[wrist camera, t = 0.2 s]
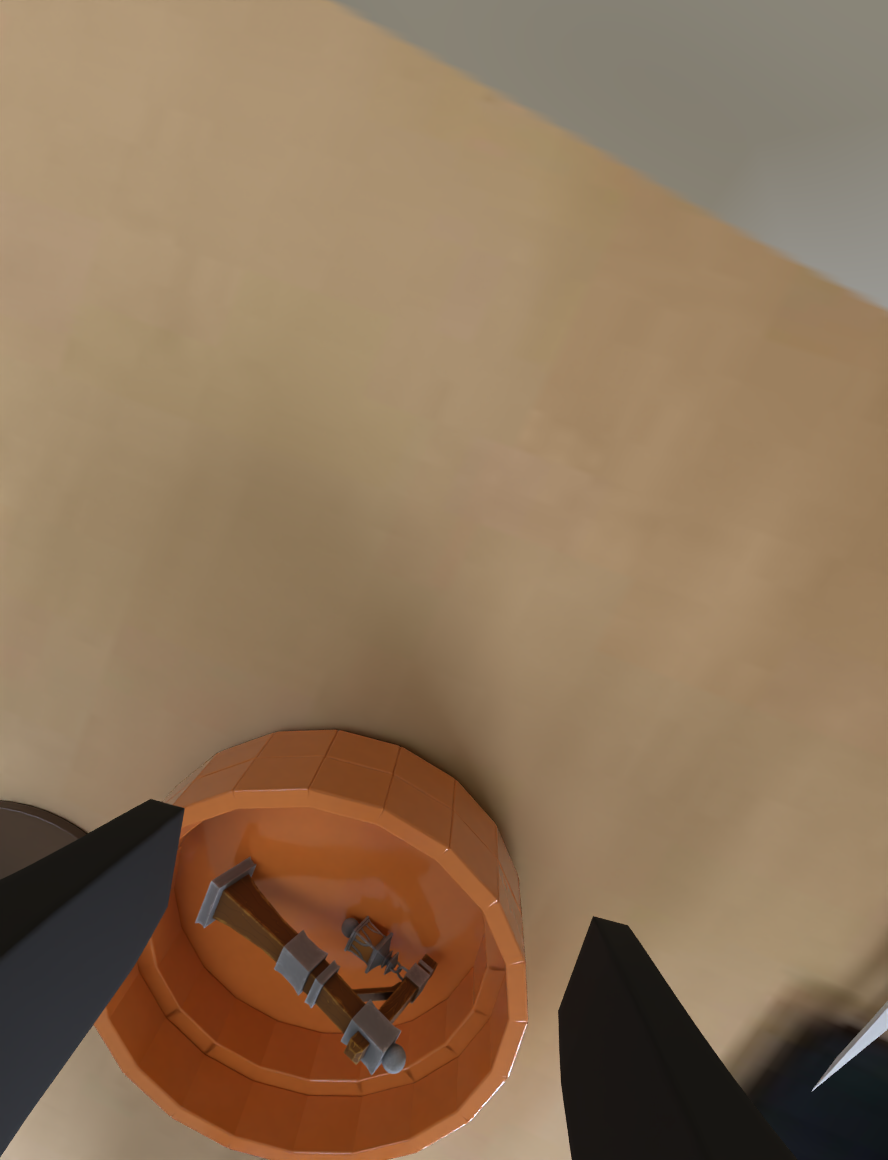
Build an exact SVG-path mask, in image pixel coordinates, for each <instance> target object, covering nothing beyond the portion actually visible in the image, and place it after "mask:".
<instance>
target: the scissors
mask: <svg viewBox="0 0 888 1160" xmlns="http://www.w3.org/2000/svg"><path fill="white" fill-rule="evenodd" d="M887 1029H888V1001H887V1002H886V1003H885V1004H884V1005H883V1006H882V1008H881V1009H880V1010H879V1011H878V1012H877V1013H876V1014H875V1016H874V1017H873V1018H872V1019H871V1020H870V1021H869V1022H868V1023H867V1025H866V1026H865V1027H864V1028H863V1029H862V1030H861V1031H860V1032H859V1033H858V1034H857V1036H856V1037H855V1038H854V1039H853V1040H852V1041H851V1042H850V1043H849V1044H848V1045H847V1046H846V1048H845V1049H844V1050H843V1051H842V1052H841V1053H840V1054H839V1055H838V1056H837V1058H836V1059H835V1060H834V1062H833V1063H832V1064H831V1066H830V1067H829V1068H828V1070H827V1071H826V1072H825V1074H824V1075H823V1076H822V1078H821V1079H820V1081H819V1082H818V1083H817V1085H816V1086H815V1087H814V1089H815V1088H816V1087H818V1086H819V1085H820V1084H821V1083H823V1082H824V1081H825V1080H826V1079H827V1078H829V1077H830V1076H831V1075H832V1074H834V1073H835V1072H836V1071H837V1070H838V1069H840V1068H841V1067H842V1066H843V1065H845V1064H846V1063H847V1062H848V1061H849V1060H851V1059H852V1058H853V1057H854V1056H856V1055H857V1054H858V1053H859V1052H860V1051H862V1050H863V1049H864V1048H865V1047H867V1046H868V1045H869V1044H870V1043H871V1042H873V1041H874V1040H875V1039H876V1038H878V1037H879V1036H880V1035H881V1034H882V1033H884V1032H885V1031H886V1030H887ZM814 1089H813V1090H814ZM813 1090H812V1091H813Z"/></svg>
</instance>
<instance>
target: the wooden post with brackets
mask: <svg viewBox="0 0 888 1160" xmlns="http://www.w3.org/2000/svg"><path fill="white" fill-rule="evenodd" d="M256 865H257V864H254V863H253V861H252V860H251V856H250V857H249V858H247V859H245V860H244V861H242V862H241V863H239V864H237V865H236V866H234V867H233V868H231V869H229V870H228V871H226V872H225V873H223V874H221V875H220V876H218V877H217V878H215V879H213V880H212V881H211V883H210V885H209V888H208V890H207V893H206V896H205V898H204V901H203V903H202V906H201V909H200V911H199V914H198V916H197V919H196V921H195V923H200V924H201V925H203V928H205V927H207V926H208V925H209V924H211V923H212V922H214V921H215V920H217V921H219V922H221V923H223V924H225V925H227V926H229V927H231V928H232V929H233V930H235V931H236V932H238V933H239V934H241V935H242V936H243V937H245V938H246V939H248V940H249V941H251V942H252V943H253V944H255V945H256V946H258V947H259V948H261V949H262V950H263V951H264V952H265V953H266V954H267V955H269V956H270V957H271V958H272V959H273V960H274V961H275V962H276V966H275V968H274V970H276V971H278V972H279V973H281V974H282V975H283V976H284V977H285V978H286V979H287V981H288V982H289V983H290V984H291V985H292V986H293V987H294V989H295V991H296V993H297V994H298V996H299V995H300V994H301V993H302V992H304V993H306V994H307V995H308V996H307V998H306V1000H305V1002H304V1003H307V1004H309V1006H310V1008H312V1007H313V1006H314V1005H315V1004H316V1005H317V1006H318V1007H319V1008H320V1009H321V1010H322V1011H323V1012H324V1013H325V1014H326V1015H327V1016H328V1017H329V1019H330V1020H331V1021H332V1022H333V1023H334V1024H335V1025H336V1026H337V1027H338V1028H339V1029H340V1030H341V1031H342V1032H343V1034H344V1035H343V1037H342V1039H341V1041H340V1042H342V1043H343V1044H345V1045H347V1046H346V1048H345V1050H344V1053H345V1054H346V1055H347V1056H348V1057H349V1058H350V1059H351V1060H352V1061H353V1062H354V1063H355V1064H356V1065H357V1064H358V1062H359V1061H360V1060H361V1061H362V1062H363V1064H364V1065H365V1066H366V1067H367V1069H368V1070H369V1072H370V1074H371V1076H372V1075H373V1073H374V1072H375V1071H376V1069H377V1068H378V1067H379V1066H380V1064H381V1063H382V1065H383V1068H384V1069H385V1070H386V1071H387V1072H388V1073H391V1074H396V1073H399V1072H400V1071H401V1070H402V1069H403V1067H404V1065H405V1062H406V1054H405V1051H404V1049H403V1048H402V1046H400V1045H399V1044H396V1043H395V1042H396V1040H397V1038H398V1036H399V1035H400V1033H401V1030H399V1029H398V1028H396V1027H395V1026H393V1025H392V1024H393V1023H394V1021H395V1020H396V1019H397V1018H398V1016H399V1015H400V1014H401V1013H402V1011H403V1010H404V1009H405V1008H406V1006H407V1005H408V1004H409V1003H411V1004H412V1003H413V1002H414V1001H415V1000H416V998H417V997H418V996H419V995H420V993H421V992H422V991H423V989H424V987H425V985H426V984H427V982H428V980H429V979H430V978H431V977H432V975H433V973H434V971H435V969H436V967H437V965H438V963H437V962H436V961H434V960H433V959H432V958H431V957H430V956H428V955H427V954H425V956H424V957H423V958H422V960H421V959H420V961H419V962H418V964H416V963H415V964H414V965H413V966H412V967H411V968H410V970H408V969H407V968H405V967H404V966H401V964H400V963H399V962H398V955H399V952H397V953H396V954H395V955H394V956H393V957H391V956H392V952H393V951H390V944H391V939H392V936H393V933H392V932H391V933H390V934H389V935H388V936H385V935H383V934H382V933H381V932H380V931H379V930H378V929H377V928H376V927H375V926H374V925H373V924H372V923H371V921H370V919H369V916H367V917H366V918H365V919H364V920H363V921H362V922H361V923H360V924H359V923H358V921H357V920H356V919H354V918H347V919H346V920H345V921H344V922H343V924H342V933H343V934H344V936H346V937H347V938H349V940H348V942H347V945H346V947H345V949H344V951H345V952H346V951H349V952H352V953H353V954H354V955H356V956H357V957H358V958H360V959H361V960H362V961H364V962H365V963H366V965H367V968H366V970H365V973H366V974H367V973H368V972H370V971H371V970H372V969H374V968H375V967H377V966H379V965H381V969H382V968H383V967H384V966H385V965H386V969H385V971H384V975H385V974H387V973H389V972H391V971H392V972H393V973H397V976H398V977H399V979H400V980H402V982H398V983H397V984H395V985H394V986H392V987H377V988H363V989H351V987H350V986H349V985H348V984H347V983H346V982H345V981H344V980H343V978H342V977H341V976H340V975H339V974H338V971H339V969H340V966H339V965H337V963H336V962H335V960H334V961H333V962H332V963H331V964H329V963H328V962H327V961H326V960H325V959H326V957H327V955H328V953H326V952H324V951H323V950H321V949H320V948H319V947H317V946H316V945H315V944H314V943H313V942H312V941H311V940H310V939H309V938H308V937H307V935H306V933H305V932H304V930H302V931H301V932H300V933H299V934H298V933H297V932H296V931H295V930H294V929H293V928H292V927H291V926H290V925H289V924H288V923H287V922H286V921H285V920H284V919H283V918H282V917H281V916H280V914H279V913H278V912H277V911H276V909H275V908H274V907H273V906H272V905H271V903H270V902H269V901H268V900H267V899H266V897H265V896H264V895H263V894H262V893H261V891H260V890H259V889H258V887H257V886H256V884H255V882H254V881H253V879H252V878H251V877H252V875H253V872H254V870H255V867H256ZM397 964H398V966H399V967H398V968H397V971H396V970H394V968H395V967H396V965H397ZM402 969H403V970H405V971H406V972H407V973H406V974H405V976H404V978H402V977H401V976H400V974H399V973H400V972H401V970H402ZM384 1000H386V1001H385V1003H384V1004H383V1005H382V1006H381V1007H380V1008H379V1010H378V1009H377V1008H376V1007H375V1005H374V1004H373V1002H372V1001H384ZM364 1002H367V1003H366V1004H365V1003H364Z"/></svg>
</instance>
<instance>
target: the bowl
mask: <svg viewBox="0 0 888 1160" xmlns="http://www.w3.org/2000/svg"><path fill="white" fill-rule="evenodd" d="M162 802H164V803H167V804H171V805H175V806H179V807H183V808H185V810H184V816H183V822H182V828H181V833H180V839H179V845H178V851H177V856H176V862H175V868H174V873H173V879H172V885H171V891H170V896H169V902H168V907H167V909H166V911H165V913H164V915H163V916H162V918H161V920H160V922H159V924H158V925H157V927H156V929H155V931H154V933H153V934H152V936H151V938H150V940H149V942H148V943H147V945H146V947H145V948H144V950H143V952H142V954H141V955H140V957H139V959H138V961H137V962H136V964H135V966H134V967H133V969H132V970H131V972H130V973H129V975H128V976H127V978H126V979H125V980H124V982H123V983H122V985H121V986H120V988H119V989H118V990H117V992H116V993H115V995H114V996H113V998H112V999H111V1000H110V1002H109V1003H108V1005H107V1006H106V1007H105V1009H104V1010H103V1012H102V1013H101V1014H100V1016H99V1017H98V1019H97V1020H96V1022H95V1023H94V1024H93V1025H94V1026H95V1028H96V1030H97V1031H98V1033H99V1035H100V1036H101V1038H102V1040H103V1041H104V1043H105V1044H106V1046H107V1048H108V1049H109V1051H110V1053H111V1054H112V1056H113V1058H114V1059H115V1061H116V1062H117V1064H118V1066H119V1067H120V1069H121V1071H122V1072H123V1073H125V1076H126V1077H128V1078H129V1079H130V1080H131V1081H132V1082H133V1083H134V1084H135V1085H136V1086H137V1087H138V1088H139V1089H141V1090H142V1091H143V1092H144V1093H145V1094H146V1095H147V1096H148V1097H149V1098H150V1099H151V1100H152V1101H154V1102H155V1103H156V1104H157V1105H158V1106H159V1107H160V1108H161V1109H162V1110H163V1111H164V1112H165V1113H167V1114H168V1115H169V1116H172V1118H173V1119H174V1120H176V1121H178V1122H180V1123H182V1124H184V1125H185V1126H187V1127H189V1128H191V1129H193V1130H195V1131H197V1132H198V1133H200V1134H202V1135H204V1136H206V1137H208V1138H209V1139H211V1140H213V1141H215V1142H217V1143H219V1144H221V1145H222V1146H224V1147H226V1148H228V1147H229V1149H231V1150H235V1151H238V1152H242V1153H246V1154H250V1155H253V1156H257V1157H261V1158H265V1159H269V1160H389V1159H393V1158H397V1157H401V1156H406V1155H410V1154H414V1153H417V1152H418V1151H421V1150H423V1149H424V1148H426V1147H428V1146H429V1145H431V1144H433V1143H435V1142H436V1141H438V1140H440V1139H442V1138H443V1137H445V1136H447V1135H448V1134H450V1133H452V1132H454V1131H455V1130H457V1129H459V1128H460V1127H462V1126H464V1125H466V1124H467V1123H469V1121H471V1120H472V1119H473V1118H474V1117H475V1116H476V1115H477V1113H478V1112H479V1111H480V1110H481V1109H482V1108H483V1106H484V1105H485V1104H486V1103H487V1102H488V1101H489V1099H490V1098H491V1097H492V1096H493V1095H494V1094H495V1093H496V1091H497V1090H498V1089H499V1088H500V1087H501V1086H502V1084H503V1083H504V1082H505V1081H506V1080H507V1078H508V1077H509V1075H510V1072H511V1069H512V1066H513V1064H514V1061H515V1058H516V1055H517V1052H518V1049H519V1047H520V1044H521V1041H522V1038H523V1035H524V1032H525V1030H526V1027H527V1024H528V1002H527V981H526V961H525V948H524V936H523V924H522V912H521V900H520V888H519V878H518V874H517V872H516V870H515V867H514V865H513V863H512V860H511V858H510V856H509V853H508V851H507V849H506V846H505V844H504V842H503V839H502V837H501V834H500V832H499V830H498V827H497V826H496V825H495V823H494V821H493V820H492V819H491V818H490V817H489V816H488V815H487V814H486V812H485V811H484V810H483V809H482V808H481V807H480V806H479V805H478V804H477V802H476V801H475V800H474V799H473V798H472V797H471V796H470V795H469V793H468V792H467V791H466V790H465V789H464V788H463V787H462V786H461V784H460V783H459V782H458V781H457V780H455V779H454V778H453V777H452V776H450V775H448V774H447V773H445V772H443V771H442V770H440V769H438V768H437V767H435V766H433V765H432V764H430V763H428V762H427V761H425V760H423V759H422V758H420V757H418V756H417V755H415V754H413V753H412V752H410V751H408V750H407V749H405V748H403V747H400V746H399V745H395V744H391V743H388V742H384V741H380V740H376V739H372V738H368V737H365V736H361V735H357V734H353V733H349V732H346V731H342V730H339V731H338V730H337V729H336V730H307V731H278V732H275V733H271V734H268V735H265V736H262V737H259V738H257V739H254V740H251V741H248V742H245V743H243V744H240V745H237V746H234V747H231V748H229V749H226V750H223V751H220V752H219V753H217V754H215V755H214V756H213V757H212V758H210V759H209V760H208V761H207V762H205V763H204V764H203V765H202V766H200V767H199V768H198V769H197V770H195V771H194V772H193V773H192V774H191V775H189V776H188V777H187V778H186V779H184V780H183V781H182V782H181V783H179V784H178V785H177V786H176V787H175V788H174V789H173V790H172V791H171V793H170V794H169V795H168V796H167V797H166V798H165V799H164V800H163V801H162ZM250 856H251V860H252V861H253V863H254V864H257V865H256V867H255V870H254V872H253V875H252V877H251V878H252V879H253V881H254V882H255V884H256V886H257V887H258V889H259V890H260V891H261V893H262V894H263V895H264V896H265V897H266V899H267V900H268V901H269V902H270V903H271V905H272V906H273V907H274V908H275V909H276V911H277V912H278V913H279V914H280V916H281V917H282V918H283V919H284V920H285V921H286V922H287V923H288V924H289V925H290V926H291V927H292V928H293V929H294V930H295V931H296V932H297V933H298V934H299V933H300V932H301V931H302V930H304V932H305V933H306V935H307V937H308V938H309V939H310V940H311V941H312V942H313V943H314V944H315V945H316V946H317V947H319V948H320V949H321V950H323V951H324V952H326V953H328V955H327V957H326V959H325V960H326V961H327V962H328V963H329V964H331V963H332V962H333V961H334V960H335V962H336V963H337V965H339V966H340V969H339V971H338V974H339V975H340V976H341V977H342V978H343V980H344V981H345V982H346V983H347V984H348V985H349V986H350V987H351V989H363V988H377V987H392V986H394V985H395V984H397V983H398V982H402V980H400V979H399V977H398V976H397V973H393V972H392V971H391V972H389V973H387V974H385V975H384V971H385V969H386V965H385V966H384V967H383V968H382V969H381V965H379V966H377V967H375V968H374V969H372V970H371V971H370V972H368V973H367V974H366V973H365V970H366V968H367V965H366V963H365V962H364V961H362V960H361V959H360V958H358V957H357V956H356V955H354V954H353V953H352V952H349V951H346V952H345V951H344V949H345V947H346V945H347V942H348V940H349V938H347V937H346V936H344V934H343V933H342V924H343V922H344V921H345V920H346V919H347V918H354V919H356V920H357V921H358V923H359V924H360V923H361V922H362V921H363V920H364V919H365V918H366V917H367V916H369V919H370V921H371V923H372V924H373V925H374V926H375V927H376V928H377V929H378V930H379V931H380V932H381V933H382V934H383V935H385V936H388V935H389V934H390V933H391V932H392V933H393V936H392V939H391V944H390V951H393V952H392V956H391V957H393V956H394V955H395V954H396V953H397V952H399V955H398V962H399V963H400V964H401V966H404V967H405V968H407V969H408V970H410V968H411V967H412V966H413V965H414V964H415V963H416V964H418V962H419V961H420V959H421V960H422V958H423V957H424V956H425V954H427V955H428V956H430V957H431V958H432V959H433V960H434V961H436V962H437V963H438V965H437V967H436V969H435V971H434V973H433V975H432V977H431V978H430V979H429V980H428V982H427V984H426V985H425V987H424V989H423V991H422V992H421V993H420V995H419V996H418V997H417V998H416V1000H415V1001H414V1002H413V1003H412V1004H411V1003H409V1004H408V1005H407V1006H406V1008H405V1009H404V1010H403V1011H402V1013H401V1014H400V1015H399V1016H398V1018H397V1019H396V1020H395V1021H394V1023H393V1024H392V1025H393V1026H395V1027H396V1028H398V1029H399V1030H401V1033H400V1035H399V1036H398V1038H397V1040H396V1042H395V1043H396V1044H399V1045H400V1046H402V1048H403V1049H404V1051H405V1054H406V1062H405V1065H404V1067H403V1069H402V1070H401V1071H400V1072H399V1073H396V1074H391V1073H388V1072H387V1071H386V1070H385V1069H384V1068H383V1065H382V1063H381V1064H380V1066H379V1067H378V1068H377V1069H376V1071H375V1072H374V1073H373V1075H372V1076H371V1074H370V1072H369V1070H368V1069H367V1067H366V1066H365V1065H364V1064H363V1062H362V1061H361V1060H360V1061H359V1062H358V1064H357V1065H356V1064H355V1063H354V1062H353V1061H352V1060H351V1059H350V1058H349V1057H348V1056H347V1055H346V1054H345V1053H344V1050H345V1048H346V1046H347V1045H345V1044H343V1043H342V1042H340V1041H341V1039H342V1037H343V1035H344V1034H343V1032H342V1031H341V1030H340V1029H339V1028H338V1027H337V1026H336V1025H335V1024H334V1023H333V1022H332V1021H331V1020H330V1019H329V1017H328V1016H327V1015H326V1014H325V1013H324V1012H323V1011H322V1010H321V1009H320V1008H319V1007H318V1006H317V1005H316V1004H315V1005H314V1006H313V1007H312V1008H310V1006H309V1004H307V1003H304V1002H305V1000H306V998H307V996H308V995H307V994H306V993H304V992H302V993H301V994H300V995H299V996H298V994H297V993H296V991H295V989H294V987H293V986H292V985H291V984H290V983H289V982H288V981H287V979H286V978H285V977H284V976H283V975H282V974H281V973H279V972H278V971H276V970H274V968H275V966H276V962H275V961H274V960H273V959H272V958H271V957H270V956H269V955H267V954H266V953H265V952H264V951H263V950H262V949H261V948H259V947H258V946H256V945H255V944H253V943H252V942H251V941H249V940H248V939H246V938H245V937H243V936H242V935H241V934H239V933H238V932H236V931H235V930H233V929H232V928H231V927H229V926H227V925H225V924H223V923H221V922H219V921H217V920H215V921H214V922H212V923H211V924H209V925H208V926H207V927H205V928H203V925H201V924H200V923H195V921H196V919H197V916H198V914H199V911H200V909H201V906H202V903H203V901H204V898H205V896H206V893H207V890H208V888H209V885H210V883H211V881H212V880H213V879H215V878H217V877H218V876H220V875H221V874H223V873H225V872H226V871H228V870H229V869H231V868H233V867H234V866H236V865H237V864H239V863H241V862H242V861H244V860H245V859H247V858H249V857H250ZM398 967H399V966H398V964H397V965H396V967H395V968H394V970H396V971H397V968H398ZM406 973H407V972H406V971H405V970H403V969H402V970H401V972H400V973H399V974H400V976H401V977H402V978H404V976H405V974H406ZM385 1001H386V1000H384V1001H372V1002H373V1004H374V1005H375V1007H376V1008H377V1009H378V1010H379V1008H380V1007H381V1006H382V1005H383V1004H384V1003H385ZM364 1003H365V1004H366V1003H367V1002H364Z"/></svg>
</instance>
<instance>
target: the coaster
mask: <svg viewBox="0 0 888 1160" xmlns="http://www.w3.org/2000/svg"><path fill="white" fill-rule="evenodd" d="M85 835H86V833H85V832H83V831H82V830H80V829H79V828H78V827H76V826H74V825H73V824H71V823H69V822H67V821H66V820H64V819H62V818H60V817H58V816H56V815H53V814H51V813H49V812H47V811H44V810H41V809H38V808H35V807H32V806H28V805H23V804H19V803H14V802H5V801H0V880H1V879H3V878H5V877H7V876H9V875H11V874H13V873H15V872H17V871H19V870H21V869H23V868H25V867H27V866H29V865H31V864H33V863H35V862H36V861H38V860H40V859H42V858H44V857H46V856H48V855H49V854H51V853H53V852H55V851H57V850H59V849H61V848H63V847H64V846H66V845H68V844H70V843H72V842H74V841H76V840H77V839H79V838H81V837H83V836H85Z"/></svg>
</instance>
